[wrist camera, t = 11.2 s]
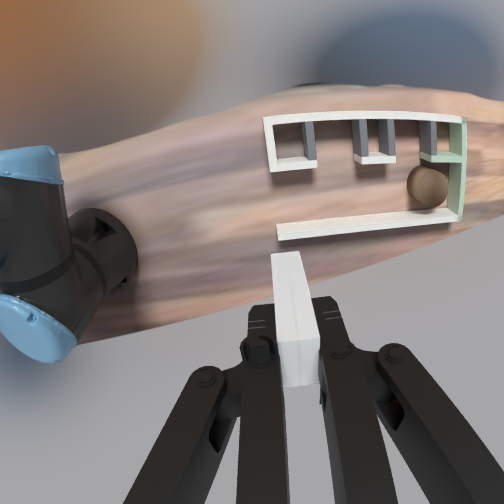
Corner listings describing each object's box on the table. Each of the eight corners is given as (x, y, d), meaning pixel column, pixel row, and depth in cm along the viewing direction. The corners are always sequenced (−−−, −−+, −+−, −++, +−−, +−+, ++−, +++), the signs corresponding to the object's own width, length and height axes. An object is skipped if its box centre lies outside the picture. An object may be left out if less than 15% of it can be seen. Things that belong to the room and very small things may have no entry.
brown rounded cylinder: (407, 201, 41) (418, 209, 37) (405, 166, 38) (418, 172, 35) (435, 197, 40) (447, 205, 37) (434, 164, 38) (448, 169, 34)
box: (276, 230, 44) (278, 240, 40) (262, 117, 36) (262, 117, 33) (450, 213, 41) (461, 220, 38) (453, 115, 34) (466, 117, 31)
